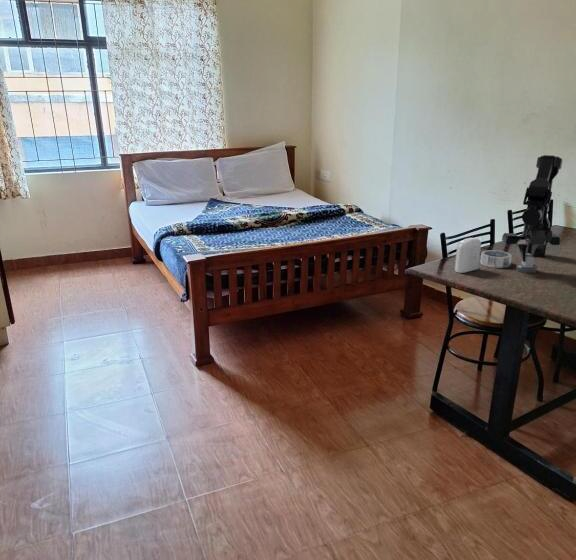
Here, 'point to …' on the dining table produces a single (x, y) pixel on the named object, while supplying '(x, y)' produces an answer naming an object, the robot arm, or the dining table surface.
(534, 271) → the grey knob
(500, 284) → the dining table surface
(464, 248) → the photo printer
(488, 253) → the faceted white dish
